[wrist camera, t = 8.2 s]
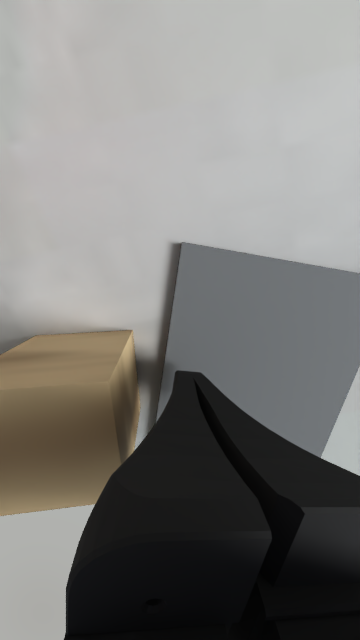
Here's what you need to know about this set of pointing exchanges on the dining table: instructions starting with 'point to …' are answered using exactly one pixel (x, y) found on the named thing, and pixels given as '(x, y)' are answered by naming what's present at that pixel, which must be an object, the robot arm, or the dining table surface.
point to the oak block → (65, 418)
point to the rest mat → (267, 338)
